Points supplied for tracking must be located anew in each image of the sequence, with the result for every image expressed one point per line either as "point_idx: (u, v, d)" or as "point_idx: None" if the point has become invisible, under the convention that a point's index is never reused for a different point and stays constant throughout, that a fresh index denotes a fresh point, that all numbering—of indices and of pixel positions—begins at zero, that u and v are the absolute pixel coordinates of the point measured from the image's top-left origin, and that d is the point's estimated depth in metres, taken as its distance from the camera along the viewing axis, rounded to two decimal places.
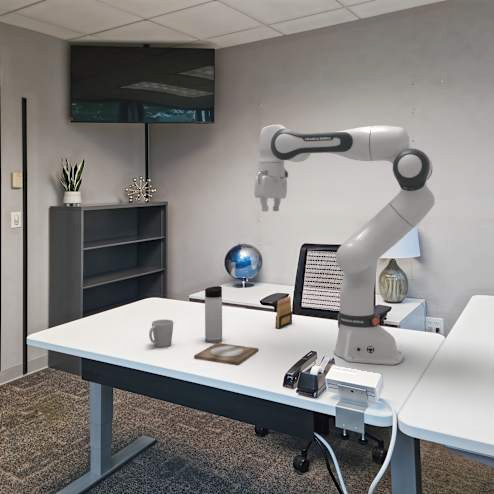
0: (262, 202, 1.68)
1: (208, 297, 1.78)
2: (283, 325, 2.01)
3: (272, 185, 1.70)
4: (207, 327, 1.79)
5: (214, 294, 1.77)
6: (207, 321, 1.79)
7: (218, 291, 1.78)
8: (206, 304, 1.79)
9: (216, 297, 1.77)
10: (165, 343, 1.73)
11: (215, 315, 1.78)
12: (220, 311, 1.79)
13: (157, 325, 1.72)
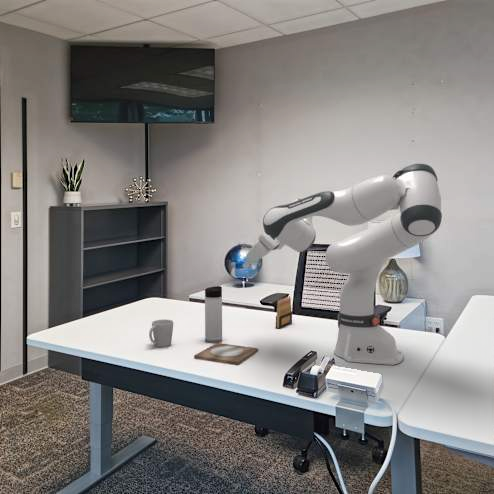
0: None
1: (208, 297, 1.78)
2: (283, 325, 2.01)
3: None
4: (207, 327, 1.79)
5: (214, 294, 1.77)
6: (207, 321, 1.79)
7: (218, 291, 1.78)
8: (206, 304, 1.79)
9: (216, 297, 1.77)
10: (165, 343, 1.73)
11: (215, 315, 1.78)
12: (220, 311, 1.79)
13: (157, 325, 1.72)
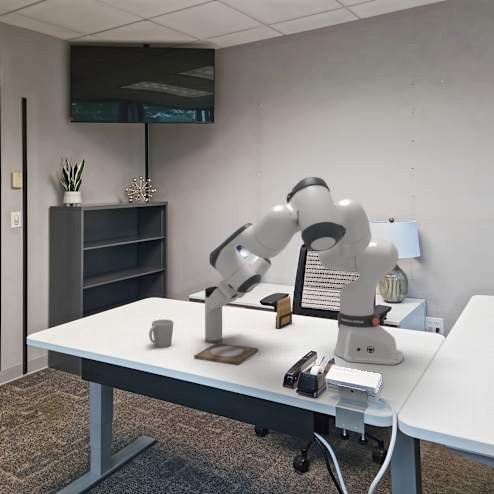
0: None
1: (208, 297, 1.78)
2: (283, 325, 2.01)
3: None
4: (207, 327, 1.79)
5: None
6: (207, 321, 1.79)
7: None
8: None
9: None
10: (165, 343, 1.73)
11: (215, 314, 1.78)
12: (220, 311, 1.79)
13: (157, 325, 1.72)
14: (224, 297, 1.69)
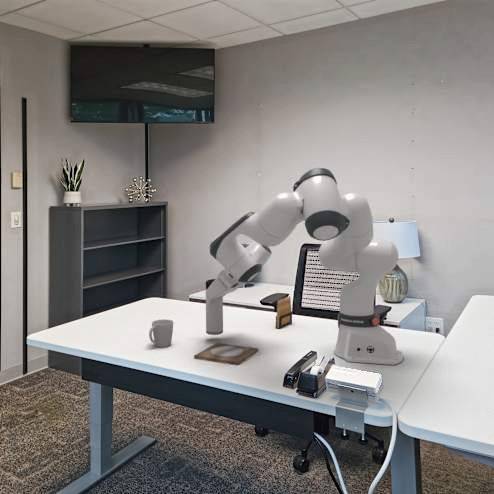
0: None
1: None
2: (283, 325, 2.01)
3: None
4: (208, 319, 1.79)
5: None
6: (208, 313, 1.79)
7: None
8: (207, 296, 1.79)
9: None
10: (165, 343, 1.73)
11: (216, 307, 1.78)
12: (221, 303, 1.80)
13: (157, 325, 1.72)
14: (224, 286, 1.69)
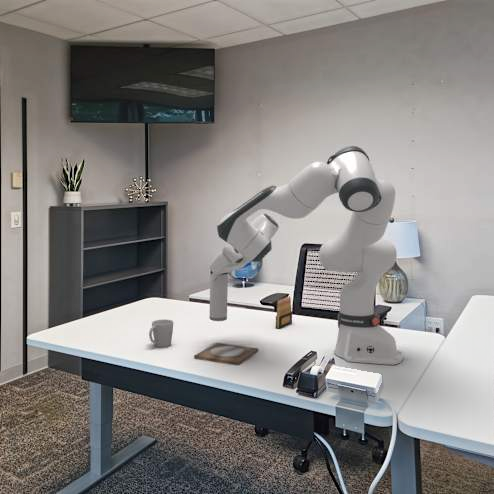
0: None
1: None
2: (283, 325, 2.01)
3: None
4: (212, 305, 1.74)
5: None
6: (212, 298, 1.74)
7: None
8: (211, 281, 1.74)
9: (222, 274, 1.72)
10: (165, 343, 1.73)
11: (220, 292, 1.73)
12: (225, 289, 1.74)
13: (157, 325, 1.72)
14: (229, 261, 1.63)
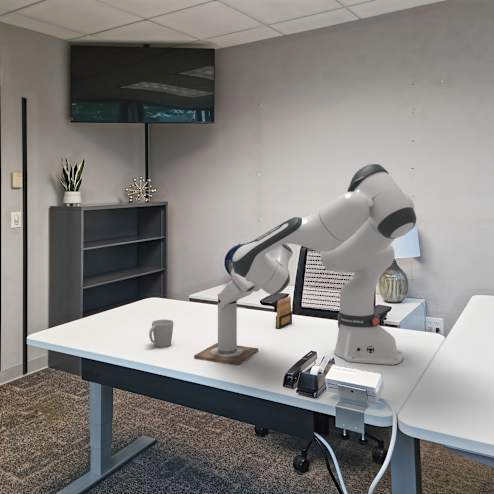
0: None
1: None
2: (283, 325, 2.01)
3: None
4: (220, 336, 1.62)
5: None
6: (220, 330, 1.61)
7: None
8: (219, 311, 1.61)
9: (231, 303, 1.60)
10: (165, 343, 1.73)
11: (230, 323, 1.61)
12: (235, 319, 1.62)
13: (157, 325, 1.72)
14: (239, 290, 1.51)
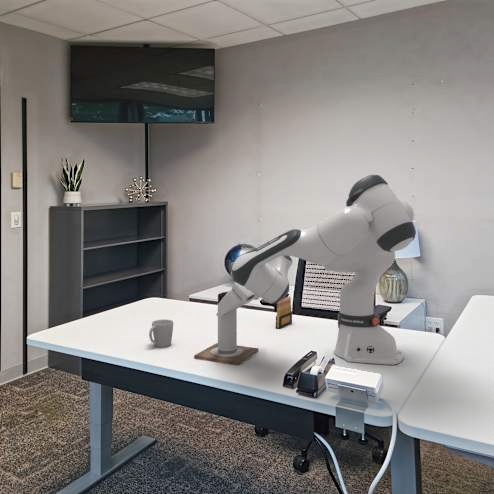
0: None
1: None
2: (283, 325, 2.01)
3: None
4: (220, 337, 1.62)
5: None
6: (220, 330, 1.61)
7: None
8: None
9: None
10: (165, 343, 1.73)
11: (229, 323, 1.61)
12: (235, 319, 1.62)
13: (157, 325, 1.72)
14: (239, 299, 1.52)
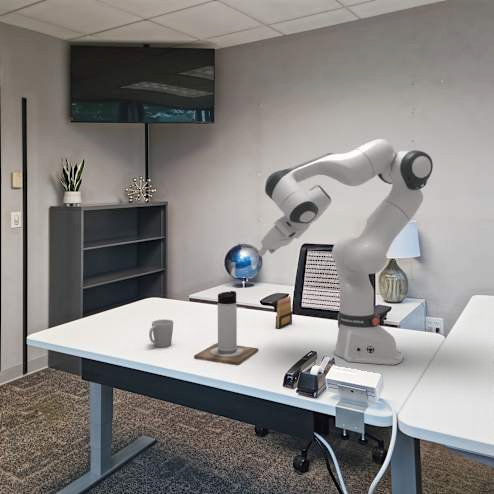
0: None
1: (222, 303, 1.60)
2: (283, 325, 2.01)
3: None
4: (220, 337, 1.62)
5: (228, 300, 1.60)
6: (220, 330, 1.61)
7: (233, 297, 1.60)
8: (219, 311, 1.61)
9: (231, 303, 1.60)
10: (165, 343, 1.73)
11: (229, 323, 1.61)
12: (235, 319, 1.62)
13: (157, 325, 1.72)
14: (282, 235, 1.58)
